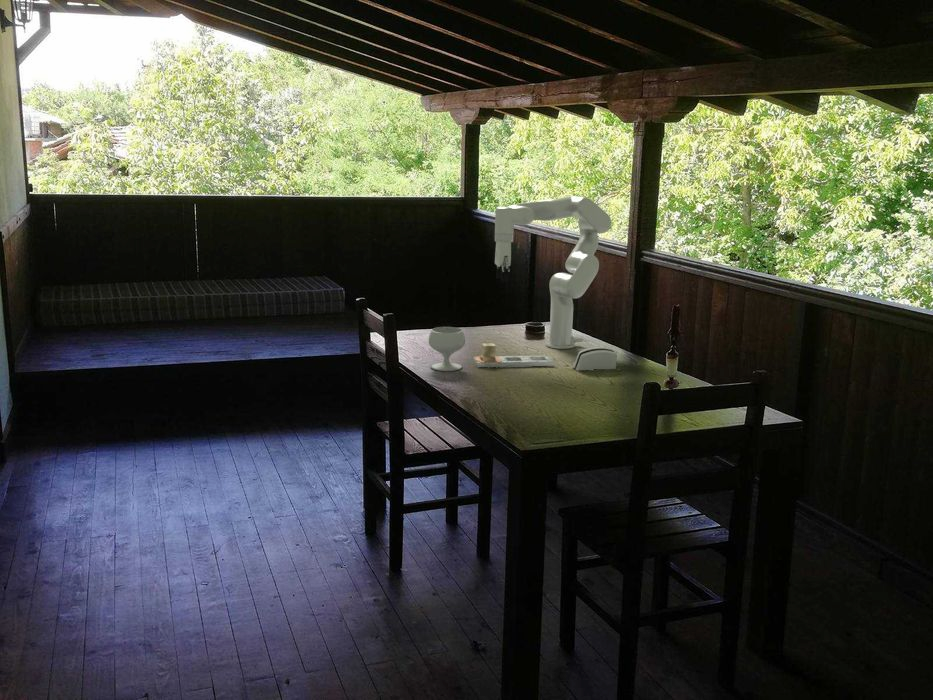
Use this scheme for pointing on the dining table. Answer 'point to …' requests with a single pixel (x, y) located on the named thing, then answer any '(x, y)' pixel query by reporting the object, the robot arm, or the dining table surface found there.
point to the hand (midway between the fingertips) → (502, 280)
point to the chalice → (446, 345)
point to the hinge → (596, 359)
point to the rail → (515, 361)
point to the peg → (488, 352)
